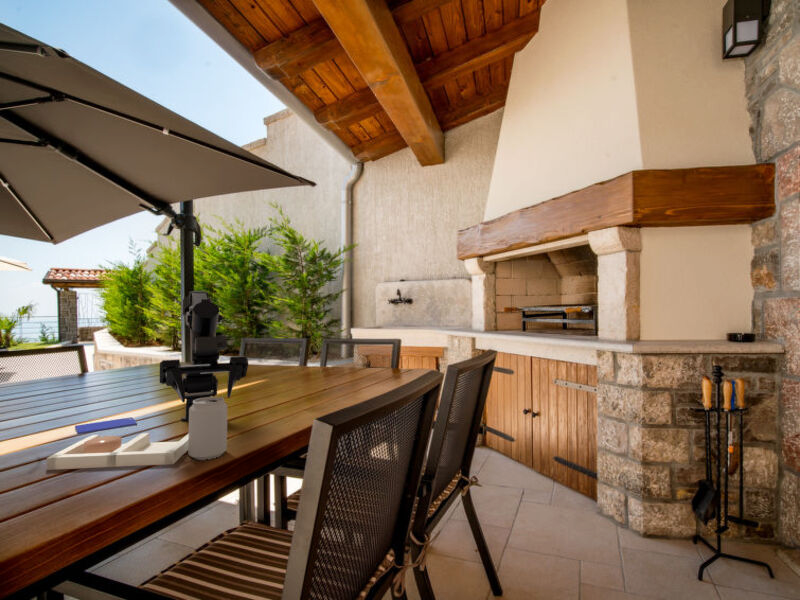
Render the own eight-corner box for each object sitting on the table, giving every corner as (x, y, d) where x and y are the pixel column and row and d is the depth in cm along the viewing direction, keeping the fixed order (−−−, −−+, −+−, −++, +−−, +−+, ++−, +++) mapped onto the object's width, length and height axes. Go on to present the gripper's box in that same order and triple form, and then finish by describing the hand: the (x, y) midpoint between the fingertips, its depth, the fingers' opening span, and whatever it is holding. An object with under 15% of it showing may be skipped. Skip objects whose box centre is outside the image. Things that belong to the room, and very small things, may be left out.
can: (233, 449, 90) (234, 395, 90) (214, 462, 82) (215, 403, 83) (201, 448, 90) (202, 394, 91) (180, 460, 83) (181, 402, 83)
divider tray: (91, 447, 91) (91, 435, 91) (197, 442, 94) (197, 431, 94) (46, 472, 77) (47, 457, 77) (173, 466, 80) (173, 452, 80)
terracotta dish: (102, 448, 88) (102, 435, 88) (128, 450, 87) (128, 436, 87) (75, 459, 82) (75, 444, 82) (103, 461, 81) (103, 446, 81)
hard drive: (131, 416, 113) (75, 424, 104) (137, 422, 106) (77, 432, 98) (131, 422, 112) (74, 431, 104) (137, 428, 106) (77, 438, 98)
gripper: (160, 324, 91) (158, 381, 81) (247, 323, 100) (255, 374, 90) (160, 356, 97) (158, 411, 88) (242, 352, 107) (248, 402, 97)
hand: (207, 399), depth 90 cm, fingers open, 9 cm apart
